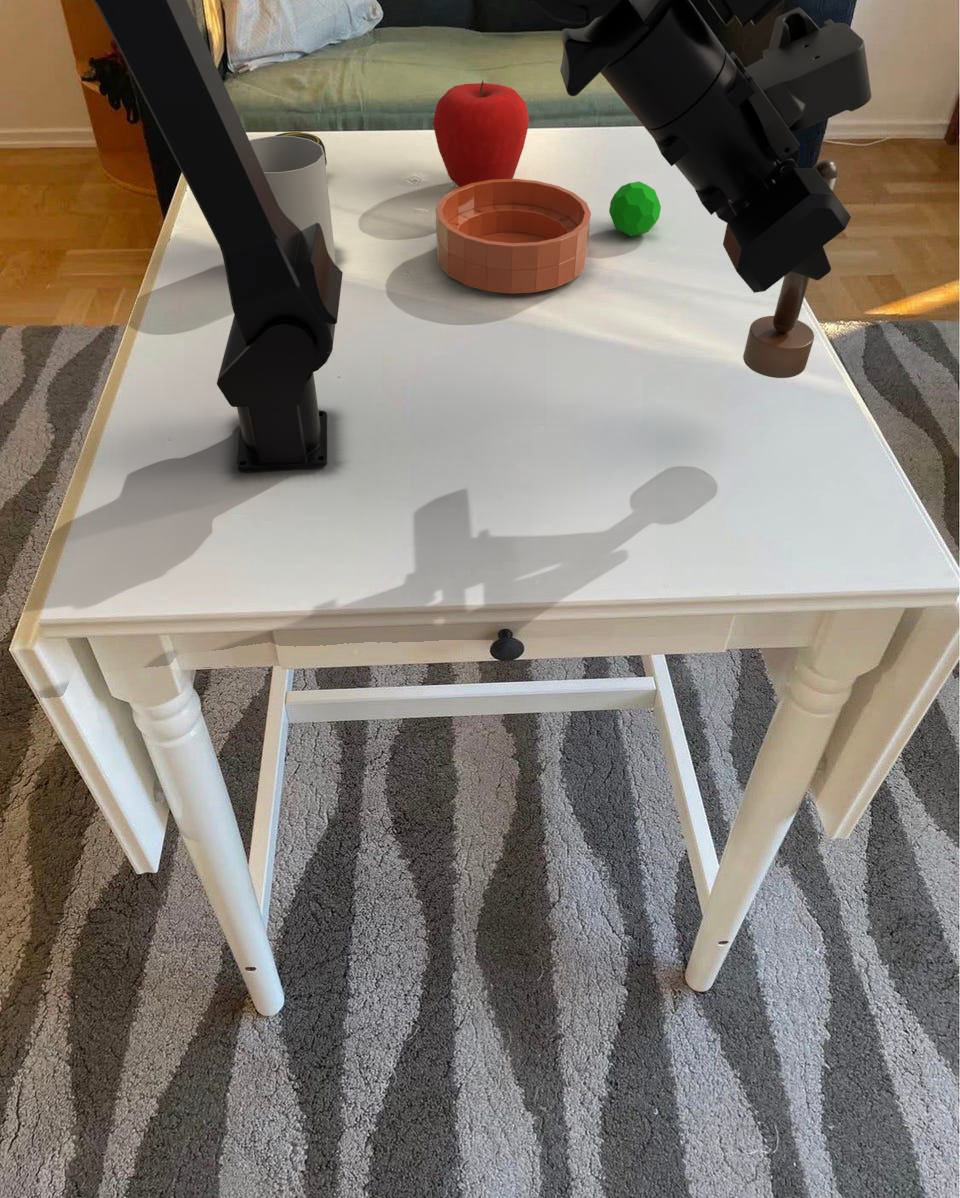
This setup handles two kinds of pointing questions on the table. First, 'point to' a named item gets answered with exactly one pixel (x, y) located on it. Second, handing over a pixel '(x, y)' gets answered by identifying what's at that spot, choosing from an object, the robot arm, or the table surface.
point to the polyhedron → (635, 208)
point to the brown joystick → (785, 320)
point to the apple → (480, 131)
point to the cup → (298, 181)
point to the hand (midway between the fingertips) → (819, 267)
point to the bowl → (512, 235)
